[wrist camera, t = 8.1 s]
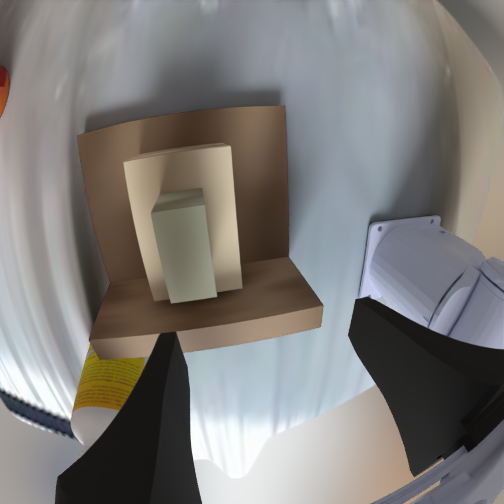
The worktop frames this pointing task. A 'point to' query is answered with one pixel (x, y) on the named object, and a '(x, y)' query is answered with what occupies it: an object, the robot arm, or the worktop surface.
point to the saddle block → (186, 220)
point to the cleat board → (248, 225)
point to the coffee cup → (3, 88)
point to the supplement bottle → (102, 394)
